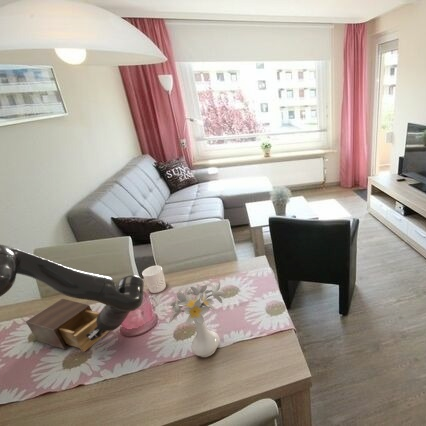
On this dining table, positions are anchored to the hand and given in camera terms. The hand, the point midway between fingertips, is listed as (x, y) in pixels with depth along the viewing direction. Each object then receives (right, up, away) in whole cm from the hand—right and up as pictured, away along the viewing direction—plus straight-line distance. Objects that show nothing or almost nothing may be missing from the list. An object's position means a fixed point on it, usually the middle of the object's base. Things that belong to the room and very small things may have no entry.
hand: (99, 333), depth 105 cm
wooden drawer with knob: (-7, -2, +4) cm, 9 cm away
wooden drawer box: (-17, -2, +7) cm, 19 cm away
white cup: (+5, +9, +29) cm, 31 cm away
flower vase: (+40, -4, -2) cm, 40 cm away
